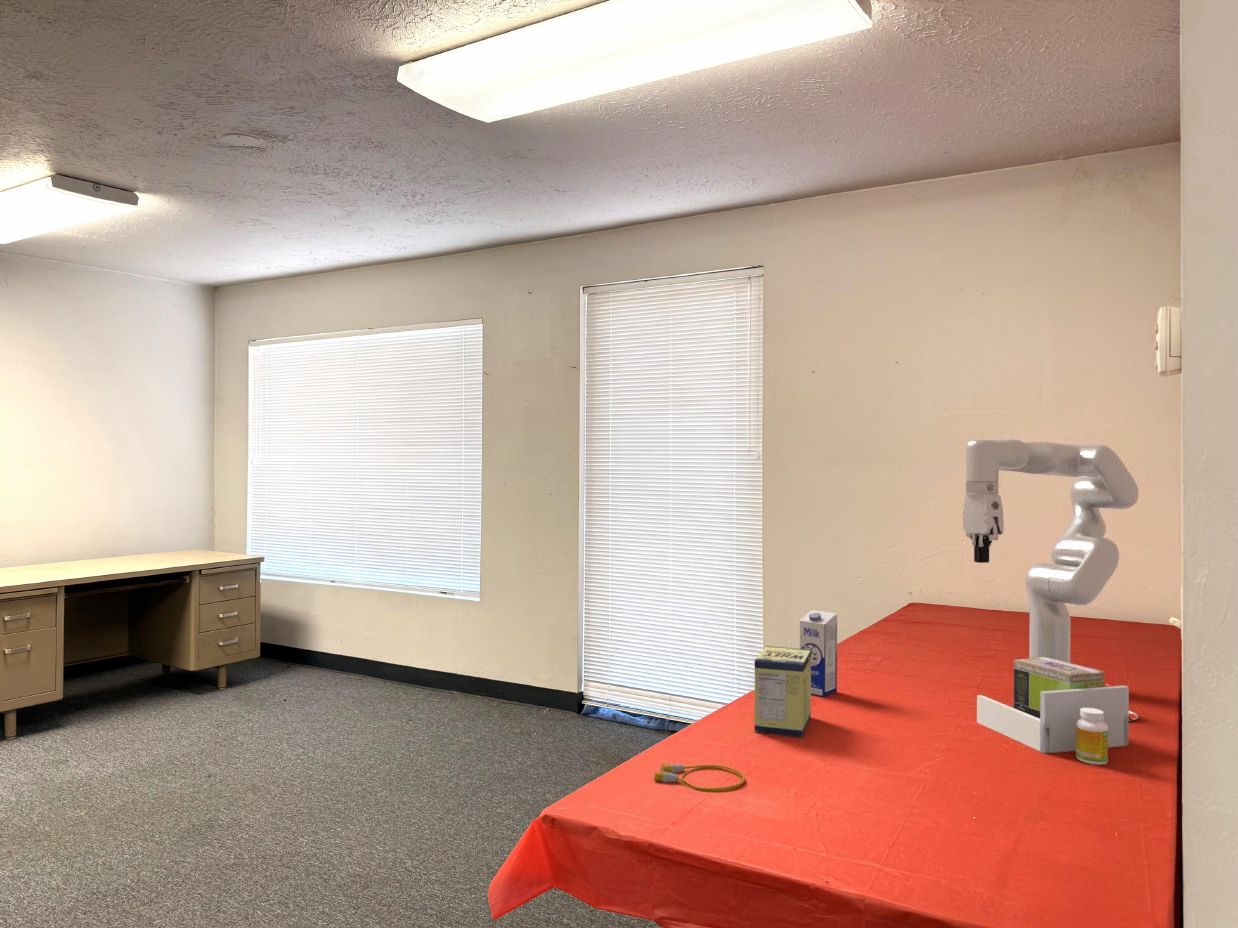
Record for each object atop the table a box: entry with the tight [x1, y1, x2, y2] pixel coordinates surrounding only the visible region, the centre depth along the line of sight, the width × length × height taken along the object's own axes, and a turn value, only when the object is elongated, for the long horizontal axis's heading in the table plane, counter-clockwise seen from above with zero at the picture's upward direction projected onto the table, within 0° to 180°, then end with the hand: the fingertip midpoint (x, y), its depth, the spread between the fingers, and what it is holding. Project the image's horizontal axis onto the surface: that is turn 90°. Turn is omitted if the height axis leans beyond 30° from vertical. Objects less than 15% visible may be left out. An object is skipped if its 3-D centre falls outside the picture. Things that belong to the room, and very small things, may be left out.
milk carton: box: [798, 609, 838, 698], centre depth 207 cm, size 7×7×20 cm
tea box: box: [1013, 657, 1105, 719], centre depth 176 cm, size 15×10×15 cm
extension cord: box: [654, 763, 746, 792], centre depth 150 cm, size 12×16×2 cm
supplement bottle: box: [1075, 708, 1109, 766], centre depth 160 cm, size 5×5×10 cm
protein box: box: [753, 645, 812, 738], centre depth 181 cm, size 10×16×16 cm
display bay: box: [976, 685, 1130, 754], centre depth 176 cm, size 20×20×12 cm
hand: (981, 562), depth 206 cm, fingers closed
